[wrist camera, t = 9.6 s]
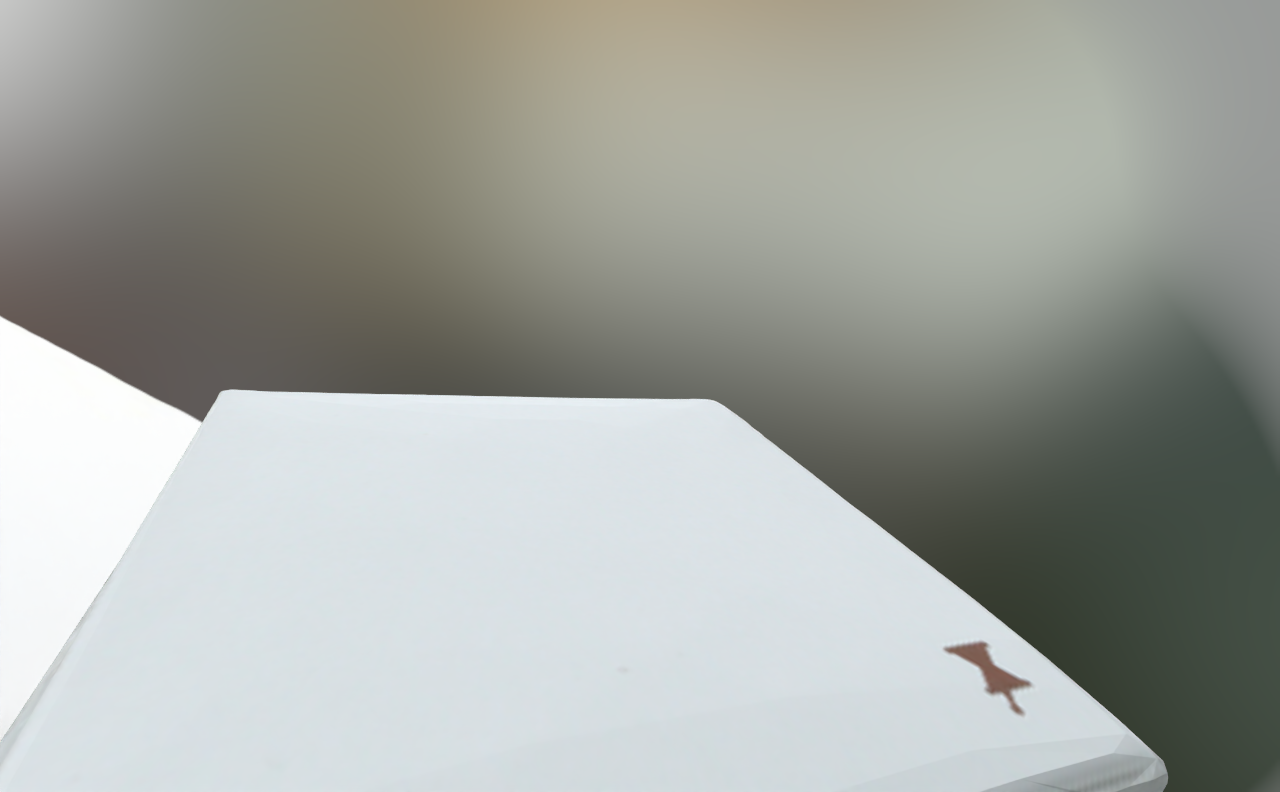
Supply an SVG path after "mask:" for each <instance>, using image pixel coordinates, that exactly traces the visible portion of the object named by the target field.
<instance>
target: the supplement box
mask: <svg viewBox="0 0 1280 792" xmlns="http://www.w3.org/2000/svg"><path fill="white" fill-rule="evenodd" d="M1167 781H1168V774H1167V771H1166V768H1165V764H1164V762H1163V761H1162V760H1161V759H1160V758H1159V757H1158V756H1157V755H1156V754H1155V753H1154V752H1153V751H1152V750H1151V749H1149V748H1148V747H1147V746H1146V745H1145V744H1144V743H1143V742H1142V741H1141V740H1140V739H1139V738H1138V737H1137V736H1135V735H1134V734H1133V733H1132V732H1131V731H1130V730H1129V729H1128V728H1127V727H1126V726H1125V725H1123V724H1122V723H1121V722H1120V721H1119V720H1118V719H1117V718H1116V717H1114V716H1113V715H1112V714H1111V713H1110V712H1109V711H1108V710H1106V709H1105V708H1104V707H1103V706H1102V705H1101V704H1099V703H1098V702H1097V701H1096V700H1095V699H1093V698H1092V697H1091V696H1090V695H1089V694H1088V693H1087V692H1085V691H1084V690H1083V689H1082V688H1081V687H1080V686H1078V685H1077V684H1076V683H1075V682H1074V681H1073V680H1072V679H1070V678H1069V677H1068V676H1067V675H1066V674H1065V673H1063V672H1062V671H1061V670H1060V669H1059V668H1057V667H1056V666H1055V665H1054V664H1053V663H1052V662H1050V661H1049V660H1048V659H1047V658H1046V657H1044V656H1043V655H1042V654H1041V653H1039V652H1038V651H1037V650H1036V649H1035V648H1033V647H1032V646H1031V645H1030V644H1029V643H1027V642H1026V641H1024V639H1022V638H1021V637H1020V636H1018V635H1017V634H1016V633H1015V632H1013V631H1012V630H1011V629H1010V628H1009V627H1007V626H1006V625H1005V624H1004V623H1002V622H1001V621H1000V620H999V619H997V618H996V617H995V616H994V615H992V614H991V613H990V612H989V611H988V610H986V609H985V608H984V607H983V606H981V605H980V604H979V603H978V602H976V601H975V600H974V599H973V598H971V597H970V596H969V595H968V594H966V593H965V592H964V591H962V590H961V589H960V588H958V587H957V586H956V585H955V584H953V583H952V582H951V581H949V580H948V579H947V578H946V577H944V576H943V575H942V574H940V573H939V572H938V571H936V570H935V569H934V568H933V567H931V566H930V565H929V564H927V563H926V562H925V561H923V560H922V559H921V558H920V557H918V556H917V555H916V554H915V553H913V552H912V551H911V550H909V549H908V548H907V547H906V546H904V545H903V544H902V543H900V542H899V541H898V540H897V539H895V538H894V537H893V536H891V535H890V534H889V533H888V532H886V531H885V530H884V529H882V528H881V527H880V526H879V525H877V524H876V523H875V522H873V521H872V520H871V519H869V518H868V517H867V516H865V515H864V514H863V513H861V512H860V511H859V510H857V509H856V508H855V507H853V506H852V505H850V504H849V503H848V502H847V501H845V500H844V499H843V498H842V497H841V496H839V495H838V494H837V493H835V492H834V491H833V490H832V489H830V488H829V487H828V486H827V485H825V484H824V483H823V482H822V481H820V480H819V479H818V478H817V477H815V476H814V475H813V474H812V473H810V472H809V471H808V470H806V469H805V468H804V467H803V466H801V465H800V464H799V463H797V462H796V461H795V460H794V459H792V458H791V457H790V456H788V455H787V454H786V453H784V452H783V451H782V450H781V449H779V448H778V447H777V446H776V445H774V444H773V443H772V442H770V441H769V440H768V439H766V438H765V437H764V436H763V435H762V434H761V433H759V432H758V431H756V430H755V429H753V428H752V427H751V426H750V425H749V424H748V423H747V422H745V421H744V420H743V419H741V418H740V417H739V416H737V415H736V414H734V413H733V412H732V411H730V410H729V409H727V408H726V407H724V406H723V405H721V404H720V403H718V402H716V401H713V400H706V399H604V398H603V399H602V398H599V399H598V398H540V397H494V396H493V397H492V396H447V395H394V394H393V395H392V394H342V393H306V392H305V393H304V392H265V391H248V390H226V391H222V392H220V394H219V396H218V398H217V400H216V402H215V403H214V405H213V406H212V408H211V409H210V411H209V413H208V414H207V416H206V418H205V419H204V421H203V423H202V424H201V426H200V428H199V429H198V431H197V432H196V434H195V436H194V437H193V439H192V441H191V442H190V444H189V446H188V448H187V449H186V451H185V453H184V454H183V456H182V458H181V459H180V461H179V463H178V465H177V466H176V468H175V470H174V471H173V473H172V474H171V476H170V478H169V479H168V481H167V483H166V484H165V486H164V488H163V489H162V491H161V492H160V494H159V496H158V497H157V499H156V501H155V503H154V504H153V506H152V508H151V509H150V511H149V513H148V514H147V516H146V518H145V519H144V521H143V523H142V524H141V526H140V528H139V530H138V531H137V533H136V535H135V536H134V538H133V540H132V541H131V543H130V545H129V546H128V548H127V550H126V551H125V553H124V555H123V556H122V558H121V560H120V561H119V563H118V564H117V566H116V567H115V569H114V570H113V572H112V573H111V575H110V576H109V578H108V579H107V581H106V583H105V584H104V586H103V587H102V589H101V590H100V592H99V593H98V595H97V596H96V598H95V599H94V601H93V602H92V604H91V605H90V607H89V608H88V610H87V611H86V613H85V614H84V616H83V617H82V619H81V620H80V622H79V624H78V625H77V627H76V628H75V630H74V631H73V633H72V634H71V636H70V637H69V639H68V640H67V642H66V643H65V645H64V646H63V648H62V649H61V651H60V652H59V654H58V656H57V657H56V659H55V660H54V662H53V663H52V665H51V666H50V668H49V669H48V671H47V672H46V674H45V675H44V677H43V678H42V680H41V681H40V683H39V684H38V686H37V687H36V689H35V690H34V692H33V693H32V695H31V696H30V698H29V699H28V701H27V703H26V704H25V706H24V707H23V709H22V710H21V712H20V713H19V715H18V716H17V718H16V719H15V721H14V722H13V724H12V725H11V727H10V728H9V730H8V731H7V733H6V734H5V736H4V737H3V739H2V740H1V742H0V792H1163V790H1164V788H1165V786H1166V784H1167Z"/></svg>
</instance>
